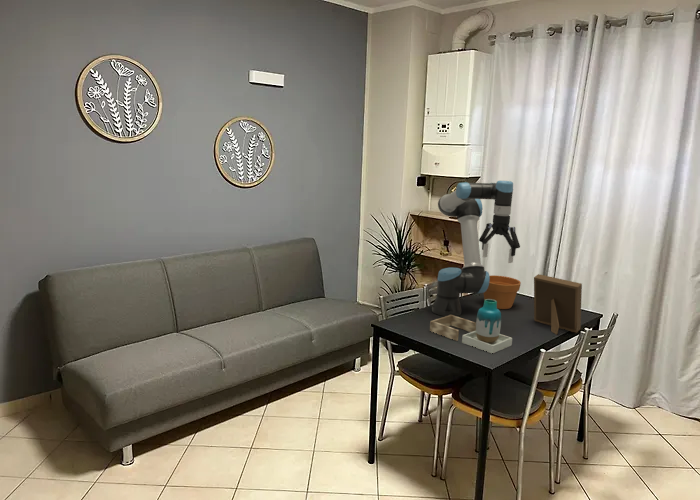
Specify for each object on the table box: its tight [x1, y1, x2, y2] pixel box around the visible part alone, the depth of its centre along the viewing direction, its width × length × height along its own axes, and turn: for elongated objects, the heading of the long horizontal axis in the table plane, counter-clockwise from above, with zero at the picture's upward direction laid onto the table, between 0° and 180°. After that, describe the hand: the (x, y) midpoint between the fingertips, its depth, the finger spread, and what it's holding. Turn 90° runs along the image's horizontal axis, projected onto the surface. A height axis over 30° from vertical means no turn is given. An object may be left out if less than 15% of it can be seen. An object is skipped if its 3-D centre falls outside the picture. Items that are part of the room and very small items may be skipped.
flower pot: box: [482, 274, 522, 310], centre depth 292 cm, size 21×21×15 cm
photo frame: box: [533, 273, 583, 335], centre depth 257 cm, size 15×22×25 cm
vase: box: [475, 299, 502, 343], centre depth 233 cm, size 11×11×19 cm
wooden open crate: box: [429, 315, 476, 342], centre depth 248 cm, size 16×16×5 cm
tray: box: [461, 331, 513, 354], centre depth 235 cm, size 16×16×4 cm
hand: (497, 259), depth 246 cm, fingers open, 13 cm apart
